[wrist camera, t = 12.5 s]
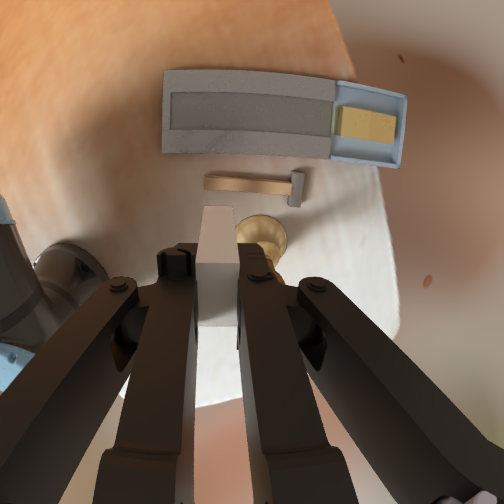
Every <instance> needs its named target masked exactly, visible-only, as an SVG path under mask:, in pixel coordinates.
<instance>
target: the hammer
mask: <svg viewBox="0 0 504 504" xmlns="http://www.w3.org/2000/svg"><path fill="white" fill-rule="evenodd" d="M304 179H305V173H304V172H300V171H291V178H290V182H288V181H278V180H267V179H255V178H242V177H228V176H212V175H205V178H204V189H212V190H229V191H243V192H257V193H269V194H281V195H288V199H287V204H288V206H289V207H300V205H301V199H302V192H303V186H304Z"/></svg>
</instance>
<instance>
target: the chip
mask: <svg viewBox="0 0 504 504" xmlns="http://www.w3.org/2000/svg"><path fill="white" fill-rule="evenodd" d="M395 124H396V117H395V116H391V115H386V114H382V113H377V112H372V111H371V117H370V127H369V136H368V140H370V141H376V142H382V143H387V144H393V141H394V133H395Z"/></svg>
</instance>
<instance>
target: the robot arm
mask: <svg viewBox="0 0 504 504" xmlns="http://www.w3.org/2000/svg"><path fill="white" fill-rule="evenodd" d="M157 265H158V275H159V276H158V279H157V283H154V284H152V285H148V286H142V287H137V283H136V281H135V280H134V279H132V278H129V277H122V276H119V277H114V278H112V279H109V278H108V276H107V274H106V272H105V270H104V269H103V267H102V266H101V265H100V263H99V262H98V261H97V260H96V259H95V258H94V257H93V256H92V255H90V254H89V253H88V252H86V251H85V250H83V249H81V248H79V247H76V246H73V245H69V244H57V245H53V246H51V247H49V248H47V249H46V250H44V251H43V252H42V253H41V254H40V255H39V256H38V257H37V259H36V260H35V262H34V263H33V265H31V262H30V260H29V258H28V256H27V253H26V251H25V248H24V246H23V243H22V241H21V238H20V236H19V233H18V230H17V228H16V222H15V220H13V218H12V215H11V213H10V211H9V208H8V206H7V203H6V201H5V199H4V197H3V196H2V195H1V194H0V390H1V391H3V393H2V394H1V396H0V504H58V503H59V501H60V499H61V497H62V495H63V493H64V491H65V490H66V488H67V486H68V484H69V482H70V480H71V478H72V476H73V474H74V472H75V471H76V469H77V467H78V465H79V463H80V461H81V459H82V458H83V456H84V454H85V452H86V450H87V448H88V447H89V445H90V443H91V441H92V439H93V437H94V436H95V434H96V432H97V430H98V429H99V427H100V425H101V423H102V422H103V420H104V418H105V416H106V415H107V413H108V411H109V409H110V408H111V406H112V404H113V402H114V401H115V399H116V397H117V395H118V394H119V392H120V390H121V389H122V387H123V385H124V383H125V382H126V380H127V378H128V377H129V375H130V378H129V382H128V386H127V390H126V394H125V399H124V403H123V407H122V412H121V416H120V421H119V426H118V431H117V436H116V440H115V444H114V446H113V448H110V449H106V450H105V451H104V453H103V454H102V457H101V460H100V464H99V469H98V474H97V479H96V485H95V490H94V497H93V502H92V504H195V503H194V422H195V421H194V420H195V392H196V368H197V349H198V326H237V321H238V329H237V350H239V360H240V371H241V382H242V392H243V402H244V412H245V423H246V432H247V442H248V451H249V460H250V470H251V479H252V488H253V497H254V504H359V502H358V499H357V496H356V492H355V489H354V486H353V483H352V480H351V477H350V473H349V470H348V467H347V464H346V461H345V458H344V456H343V454H342V451H341V450H340V449H339V448H338V447H334V446H331V445H330V444H329V442H328V440H327V437H326V433H325V430H324V427H323V423H322V420H321V417H320V414H319V410H318V407H317V404H316V400H315V397H314V394H313V390H312V387H311V384H310V381H309V377H308V374H309V375H310V377H311V378H312V380H313V381H314V383H315V384H316V386H317V387H318V389H319V390H320V392H321V393H322V395H323V396H324V398H325V399H326V401H327V402H328V404H329V405H330V407H331V408H332V410H333V411H334V413H335V414H336V416H337V417H338V419H339V420H340V422H341V423H342V425H343V426H344V428H345V429H346V430H347V432H348V433H349V435H350V436H351V438H352V439H353V441H354V442H355V444H356V445H357V447H358V448H359V449H360V451H361V452H362V454H363V455H364V457H365V458H366V460H367V461H368V462H369V464H370V465H371V467H372V468H373V470H374V471H375V473H376V474H377V475H378V477H379V478H380V480H381V481H382V483H383V484H384V485H385V487H386V488H387V490H388V491H389V492H390V494H391V495H392V497H393V498H394V499H395V501H396V502H397V503H398V504H504V449H502V448H500V447H499V446H497V445H495V444H493V443H492V442H490V441H488V440H487V439H486V438H485V437H484V436H483V435H482V434H481V432H480V431H479V430H478V429H477V428H476V427H475V426H474V425H473V424H472V423H471V422H470V421H469V419H468V418H466V416H465V415H463V413H462V412H461V411H460V410H459V409H458V408H457V407H456V406H455V405H454V404H453V403H452V402H451V400H450V399H449V398H448V397H447V396H446V395H445V394H444V393H443V392H442V391H441V390H440V389H439V388H438V387H437V386H436V385H435V384H434V383H433V382H432V381H431V380H430V379H429V378H428V377H427V376H426V375H425V374H424V373H423V371H421V370H420V368H419V367H418V366H417V365H416V364H415V363H414V362H413V361H412V360H411V359H410V358H409V357H408V356H407V355H406V354H405V353H404V352H403V351H402V350H401V349H400V348H399V347H398V346H397V345H396V344H395V343H394V342H393V341H392V340H391V339H390V338H389V337H388V336H387V335H386V334H385V333H384V332H383V331H382V330H381V329H380V328H379V327H378V326H377V325H376V324H375V323H374V322H373V321H372V320H370V319H369V318H368V317H367V316H366V315H365V314H364V313H363V312H362V311H361V310H360V309H359V308H358V307H357V306H356V305H355V304H354V303H353V302H352V301H351V300H350V299H349V298H348V297H347V296H346V295H345V294H344V293H343V292H342V291H341V290H339V289H338V288H337V287H336V286H335V285H334V284H333V283H332V282H330V281H329V280H326V279H324V278H321V277H307V278H304V279H302V280H301V281H300V282H299V286H298V287H294V286H289V285H284V284H282V283H279V282H278V279H277V276H276V275H275V274H274V273H273V272H271V271H270V270H269V266H268V263H267V260H266V256H265V253H264V250H263V248H262V247H261V246H260V245H259V244H257V243H237V238H236V230H235V222H234V214H233V206H204V210H203V216H202V222H201V229H200V235H199V242H198V243H178V244H177V245H176V246H175V247H172V248H167V249H164V250H162V251H160V252H159V253H158V254H157ZM307 372H308V374H307ZM130 373H131V374H130Z"/></svg>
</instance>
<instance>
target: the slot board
mask: <svg viewBox="0 0 504 504" xmlns="http://www.w3.org/2000/svg"><path fill="white" fill-rule="evenodd" d="M335 86H336V81H335V80H329V79H323V78H316V77H309V76H302V75H293V74H284V73H274V72H262V71H246V70H219V69H189V70H164V78H163V102H162V153H233V154H260V155H279V156H294V157H307V158H319V159H329V156H330V146H331V138H330V137H329V136H330V125H331V113H332V102H334V100H335Z"/></svg>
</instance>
